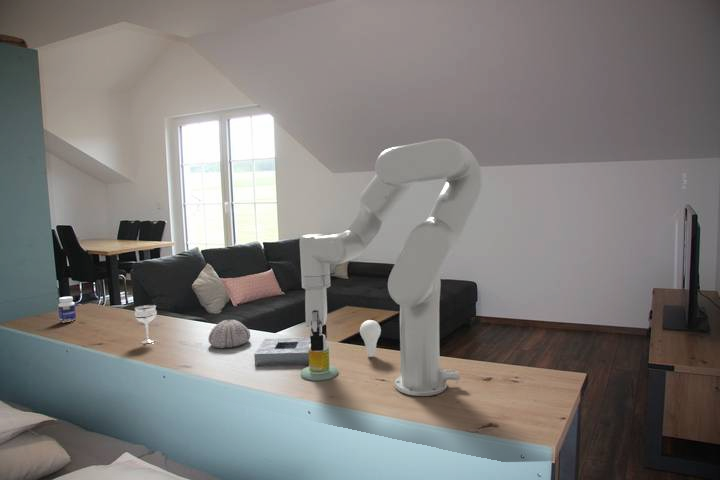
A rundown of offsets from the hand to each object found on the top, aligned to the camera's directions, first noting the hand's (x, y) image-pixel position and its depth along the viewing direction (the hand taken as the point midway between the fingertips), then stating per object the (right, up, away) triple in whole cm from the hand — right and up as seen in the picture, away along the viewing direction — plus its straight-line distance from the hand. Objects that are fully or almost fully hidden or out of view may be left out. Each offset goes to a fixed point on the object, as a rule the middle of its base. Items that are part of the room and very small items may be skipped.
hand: (319, 344), depth 128 cm
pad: (0, -8, +1) cm, 8 cm away
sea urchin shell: (-32, -7, +29) cm, 44 cm away
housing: (-11, -7, +15) cm, 20 cm away
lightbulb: (+14, -7, +13) cm, 20 cm away
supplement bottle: (0, -8, +1) cm, 8 cm away
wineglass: (-61, -7, +34) cm, 70 cm away
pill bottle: (-106, -5, +65) cm, 124 cm away
